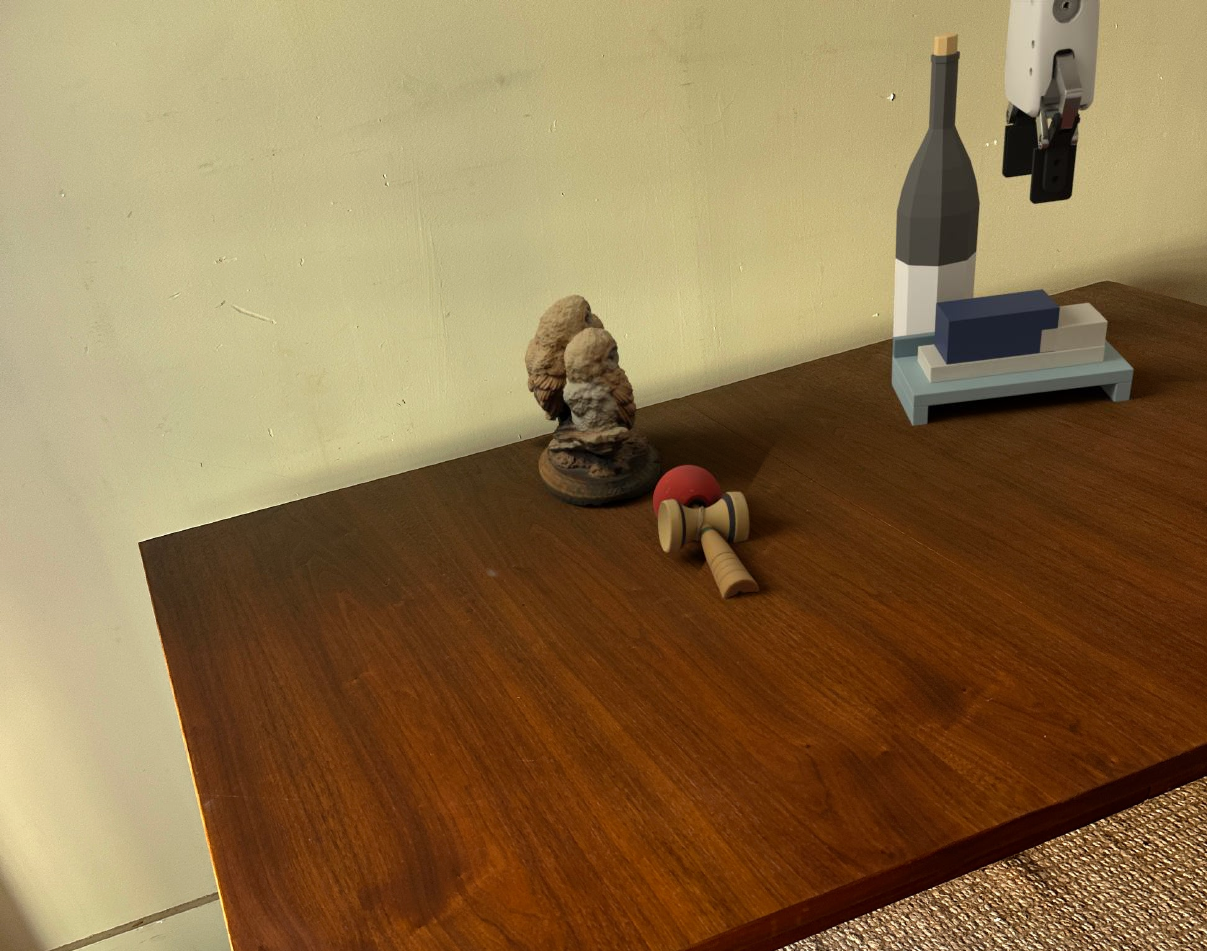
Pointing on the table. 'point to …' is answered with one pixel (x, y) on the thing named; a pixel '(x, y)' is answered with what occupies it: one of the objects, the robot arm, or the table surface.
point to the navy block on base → (1011, 336)
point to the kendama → (704, 523)
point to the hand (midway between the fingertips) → (1035, 187)
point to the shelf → (997, 379)
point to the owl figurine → (587, 410)
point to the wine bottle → (936, 209)
